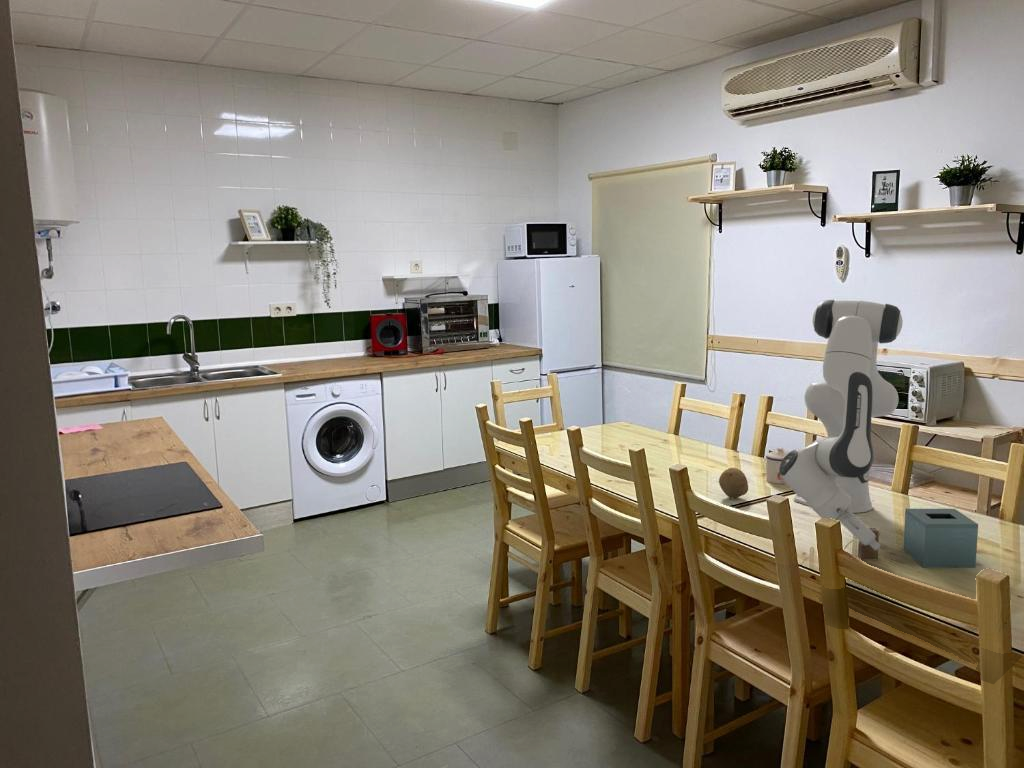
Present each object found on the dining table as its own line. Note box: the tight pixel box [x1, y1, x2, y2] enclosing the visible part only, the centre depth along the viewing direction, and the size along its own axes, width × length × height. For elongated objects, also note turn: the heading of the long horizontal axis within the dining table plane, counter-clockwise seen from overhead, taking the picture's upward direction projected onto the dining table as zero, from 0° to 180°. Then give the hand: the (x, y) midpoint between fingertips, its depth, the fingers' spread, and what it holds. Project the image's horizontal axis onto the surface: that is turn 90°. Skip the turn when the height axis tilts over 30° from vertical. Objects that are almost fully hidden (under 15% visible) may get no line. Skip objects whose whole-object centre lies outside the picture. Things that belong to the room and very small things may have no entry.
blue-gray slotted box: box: [903, 508, 979, 569], centre depth 190 cm, size 12×12×11 cm
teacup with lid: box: [765, 447, 788, 485], centre depth 262 cm, size 12×9×12 cm
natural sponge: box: [718, 467, 749, 500], centre depth 245 cm, size 9×9×10 cm
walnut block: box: [857, 527, 880, 561], centre depth 192 cm, size 4×2×8 cm, turn 84°
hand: (871, 541), depth 192 cm, fingers open, 7 cm apart
